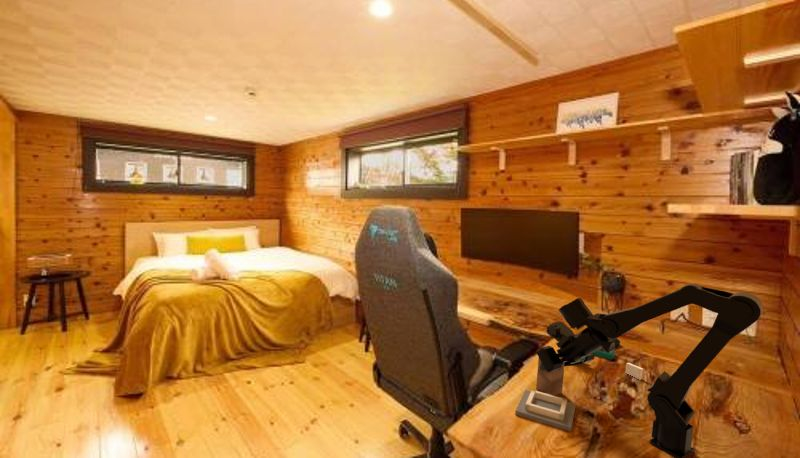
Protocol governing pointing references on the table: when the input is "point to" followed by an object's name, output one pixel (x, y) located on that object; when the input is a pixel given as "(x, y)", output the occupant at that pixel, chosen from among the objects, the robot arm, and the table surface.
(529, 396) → the socket plate
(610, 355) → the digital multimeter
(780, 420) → the table surface
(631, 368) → the eraser
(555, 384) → the block
